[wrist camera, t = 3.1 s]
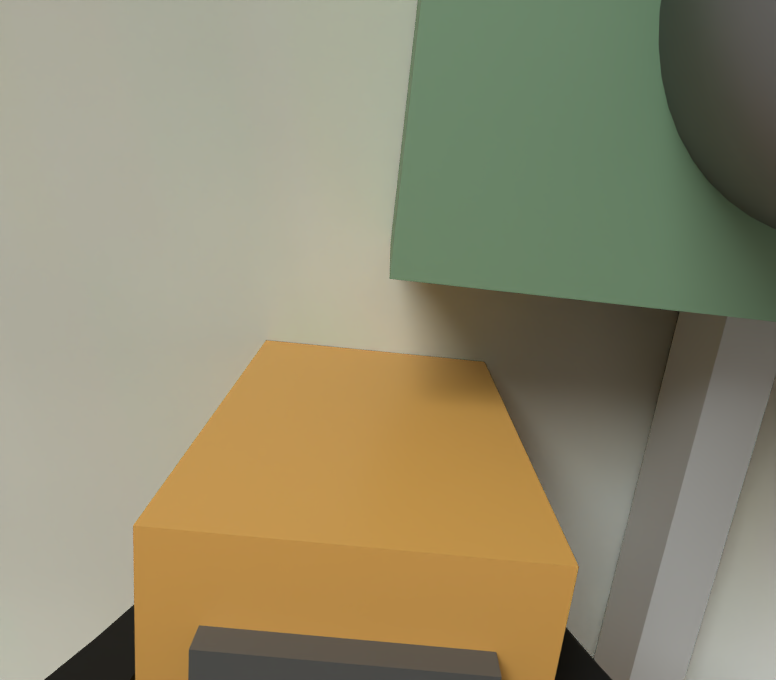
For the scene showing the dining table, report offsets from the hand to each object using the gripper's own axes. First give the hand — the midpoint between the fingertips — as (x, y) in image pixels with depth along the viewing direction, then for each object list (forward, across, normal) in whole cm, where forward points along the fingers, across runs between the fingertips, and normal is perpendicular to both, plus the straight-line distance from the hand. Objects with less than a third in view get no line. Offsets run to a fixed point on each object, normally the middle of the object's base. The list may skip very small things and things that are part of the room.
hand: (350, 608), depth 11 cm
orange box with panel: (+2, 0, 0) cm, 2 cm away
